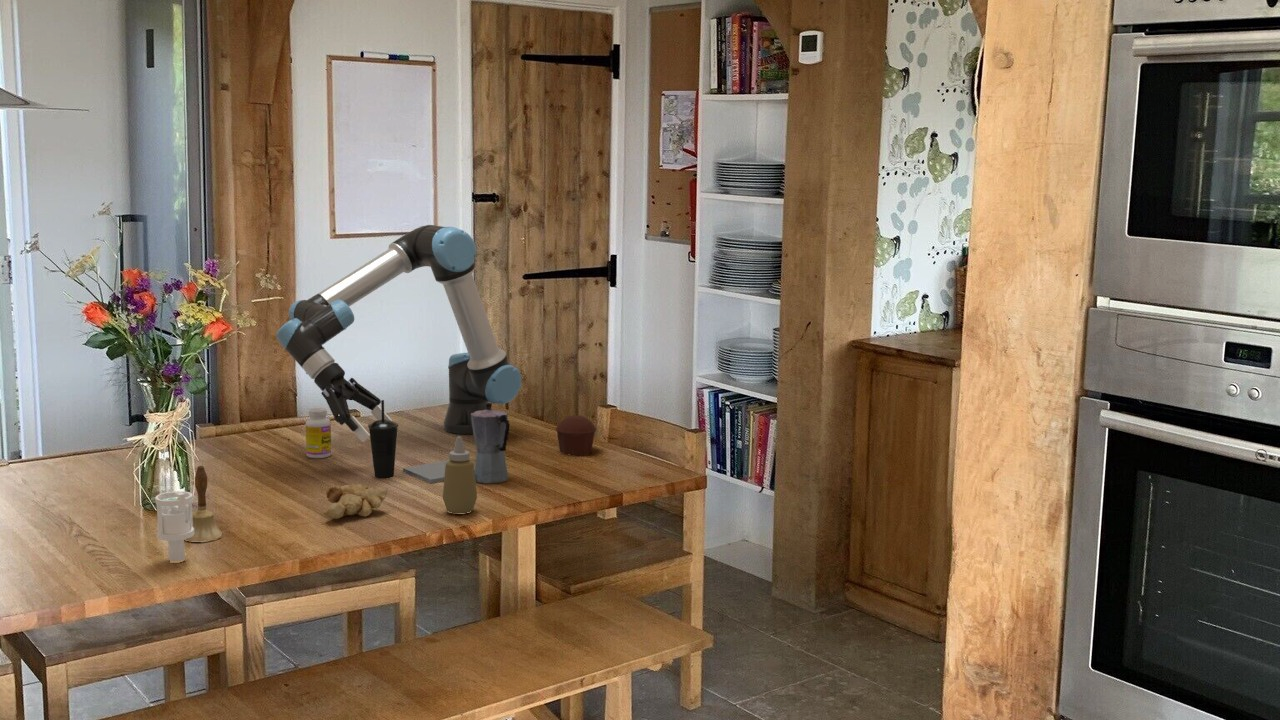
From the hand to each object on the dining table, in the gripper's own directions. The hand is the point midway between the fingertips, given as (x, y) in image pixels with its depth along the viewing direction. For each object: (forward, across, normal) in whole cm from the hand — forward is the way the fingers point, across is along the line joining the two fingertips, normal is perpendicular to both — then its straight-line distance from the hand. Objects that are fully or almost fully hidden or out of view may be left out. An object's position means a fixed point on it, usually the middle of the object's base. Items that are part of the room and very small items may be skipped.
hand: (378, 432), depth 320 cm
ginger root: (+14, +30, -3) cm, 33 cm away
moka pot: (+29, -6, +12) cm, 32 cm away
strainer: (+2, +71, -15) cm, 73 cm away
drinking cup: (+9, -1, -8) cm, 12 cm away
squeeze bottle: (+31, +22, +14) cm, 40 cm away
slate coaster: (+18, -8, +1) cm, 19 cm away
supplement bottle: (-9, -14, -26) cm, 31 cm away
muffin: (+36, -41, +20) cm, 58 cm away
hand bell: (-1, +56, -18) cm, 59 cm away
